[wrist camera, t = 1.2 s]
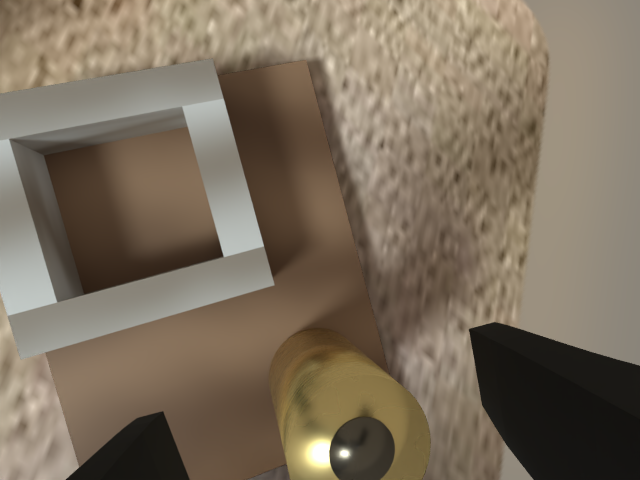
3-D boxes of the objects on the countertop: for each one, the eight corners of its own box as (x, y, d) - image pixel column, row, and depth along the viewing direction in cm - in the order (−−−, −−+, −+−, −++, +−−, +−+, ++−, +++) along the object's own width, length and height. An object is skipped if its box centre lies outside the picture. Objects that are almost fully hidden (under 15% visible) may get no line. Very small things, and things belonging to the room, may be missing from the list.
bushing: (370, 403, 19) (447, 493, 12) (282, 435, 18) (311, 555, 11) (347, 315, 19) (411, 356, 12) (257, 344, 18) (270, 407, 11)
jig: (393, 410, 20) (425, 444, 17) (107, 520, 17) (76, 588, 14) (302, 69, 19) (316, 31, 16) (-10, 125, 17) (-74, 93, 13)
